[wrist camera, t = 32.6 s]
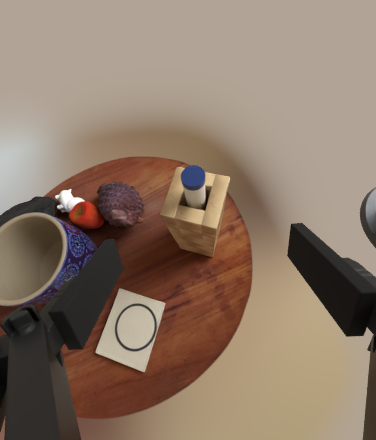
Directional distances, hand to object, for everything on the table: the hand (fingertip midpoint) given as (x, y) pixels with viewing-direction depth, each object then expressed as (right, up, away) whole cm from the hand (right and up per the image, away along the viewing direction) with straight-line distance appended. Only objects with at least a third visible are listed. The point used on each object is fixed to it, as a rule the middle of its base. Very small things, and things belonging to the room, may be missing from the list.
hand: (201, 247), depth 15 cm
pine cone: (-17, +5, +38) cm, 42 cm away
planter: (-29, -9, +34) cm, 45 cm away
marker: (+1, +3, +20) cm, 21 cm away
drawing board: (-13, -21, +28) cm, 37 cm away
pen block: (+2, -2, +33) cm, 34 cm away
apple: (-24, +1, +37) cm, 44 cm away
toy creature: (-35, +6, +37) cm, 51 cm away
